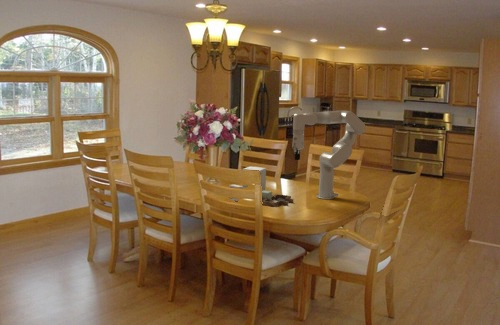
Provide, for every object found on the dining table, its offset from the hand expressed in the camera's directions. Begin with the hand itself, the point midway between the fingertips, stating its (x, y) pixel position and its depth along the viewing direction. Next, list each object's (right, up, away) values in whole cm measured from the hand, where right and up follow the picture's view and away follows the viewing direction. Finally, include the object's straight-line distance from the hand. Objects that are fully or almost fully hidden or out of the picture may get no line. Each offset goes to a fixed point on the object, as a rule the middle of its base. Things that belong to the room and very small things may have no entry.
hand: (297, 159), depth 329 cm
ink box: (-41, -28, -13) cm, 51 cm away
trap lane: (-15, -28, -5) cm, 32 cm away
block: (-21, -27, -2) cm, 34 cm away
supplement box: (-29, -23, +21) cm, 43 cm away
